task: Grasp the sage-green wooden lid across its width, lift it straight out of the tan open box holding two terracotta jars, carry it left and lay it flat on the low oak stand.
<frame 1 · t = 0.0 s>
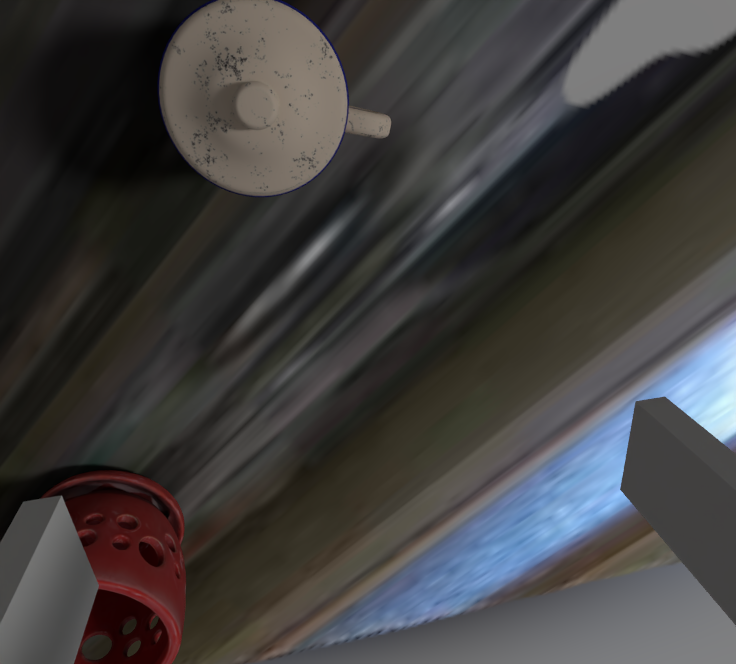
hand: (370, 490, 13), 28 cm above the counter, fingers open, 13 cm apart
teacup with lid: (281, 100, 35), on the counter
plant pot: (118, 516, 46), on the counter
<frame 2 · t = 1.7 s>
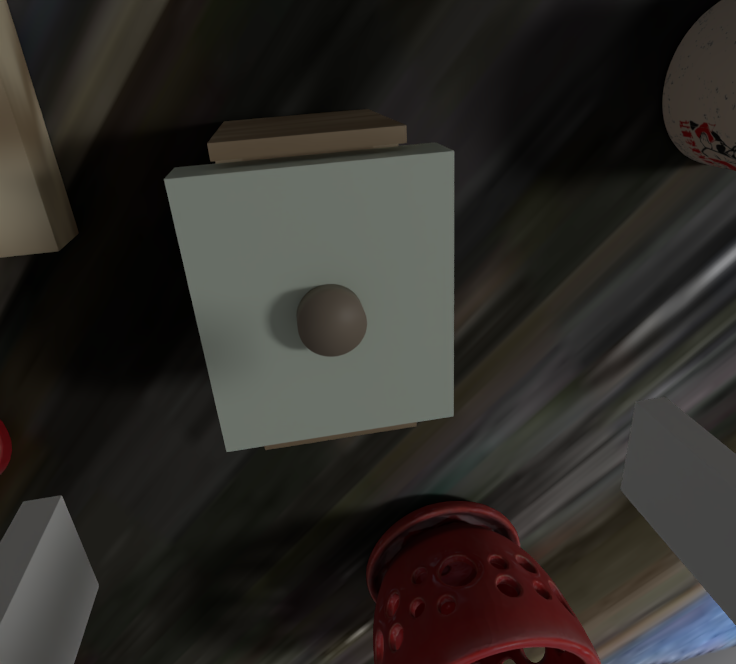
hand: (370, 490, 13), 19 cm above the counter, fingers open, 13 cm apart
plant pot: (439, 548, 42), on the counter
lid: (324, 292, 23), point 7 cm above the counter, touching tan open box
tan open box: (312, 245, 30), on the counter
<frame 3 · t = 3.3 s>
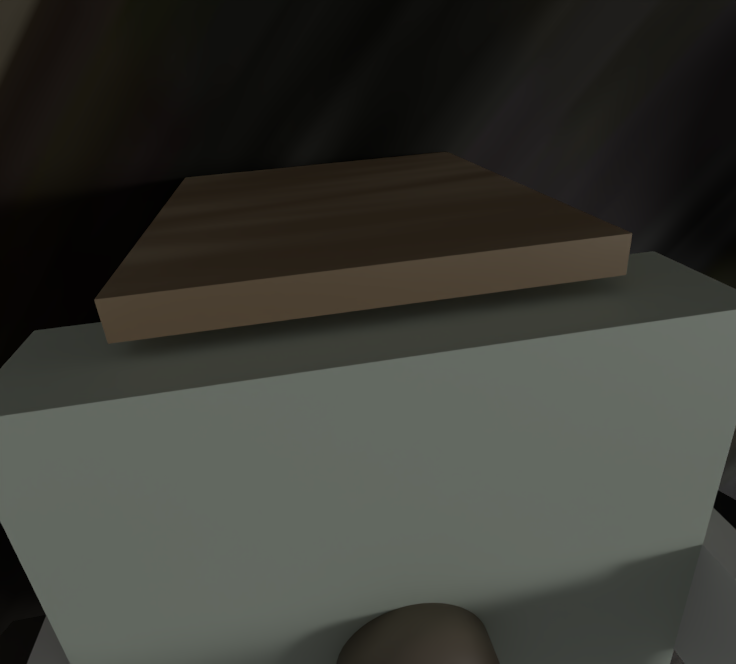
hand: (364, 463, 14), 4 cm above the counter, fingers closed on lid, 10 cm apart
lid: (385, 546, 11), point 7 cm above the counter, touching tan open box, gripper
tan open box: (342, 377, 17), on the counter
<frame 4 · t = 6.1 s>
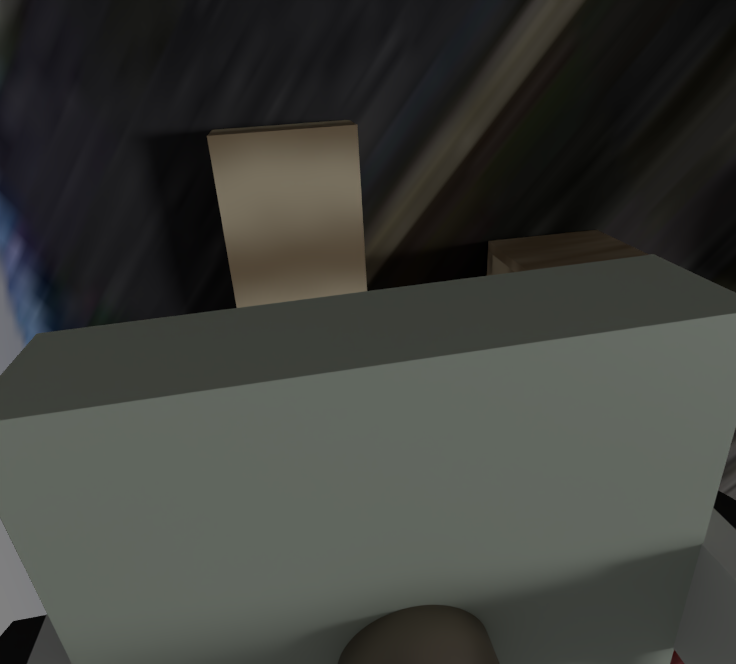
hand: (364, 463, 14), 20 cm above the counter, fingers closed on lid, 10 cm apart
lid: (385, 547, 11), point 22 cm above the counter, touching gripper
stand: (294, 237, 31), on the counter
tan open box: (534, 332, 36), on the counter
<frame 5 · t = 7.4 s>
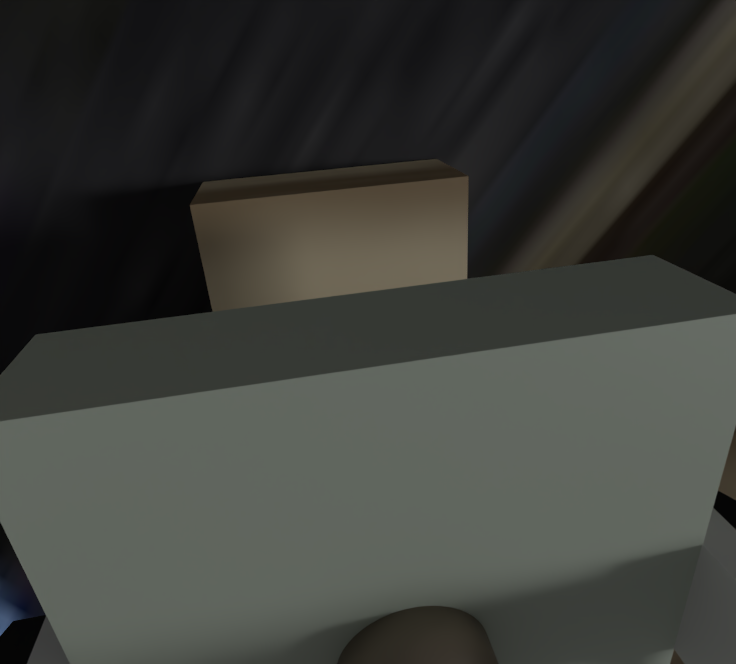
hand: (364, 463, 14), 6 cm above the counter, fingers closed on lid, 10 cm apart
lid: (385, 548, 11), point 9 cm above the counter, touching gripper
stand: (340, 347, 19), on the counter
tan open box: (691, 460, 24), on the counter
when the fingers open (2 cm above the counter, at t = 8.8 s): lid drops 1 cm, resting on stand.
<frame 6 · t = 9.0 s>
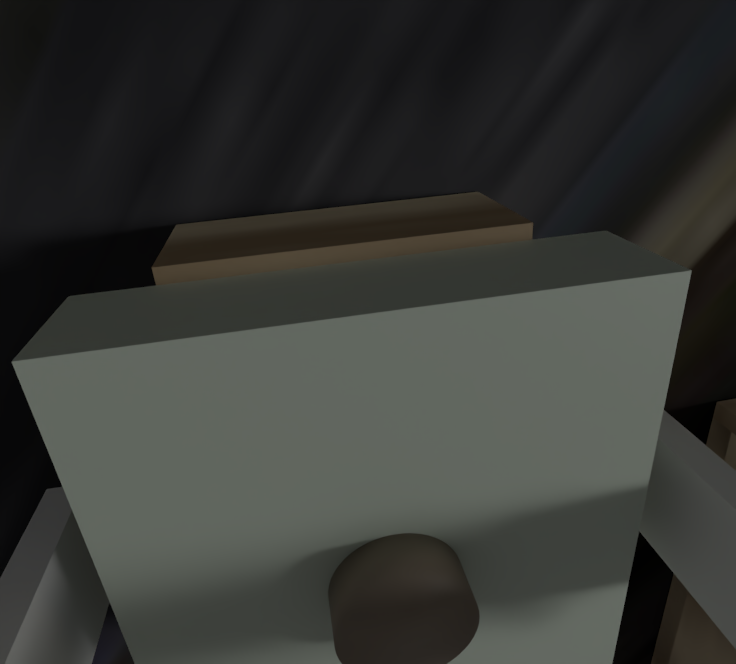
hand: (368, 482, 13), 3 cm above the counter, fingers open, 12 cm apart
lid: (373, 497, 13), point 3 cm above the counter, touching stand
stand: (353, 422, 15), on the counter
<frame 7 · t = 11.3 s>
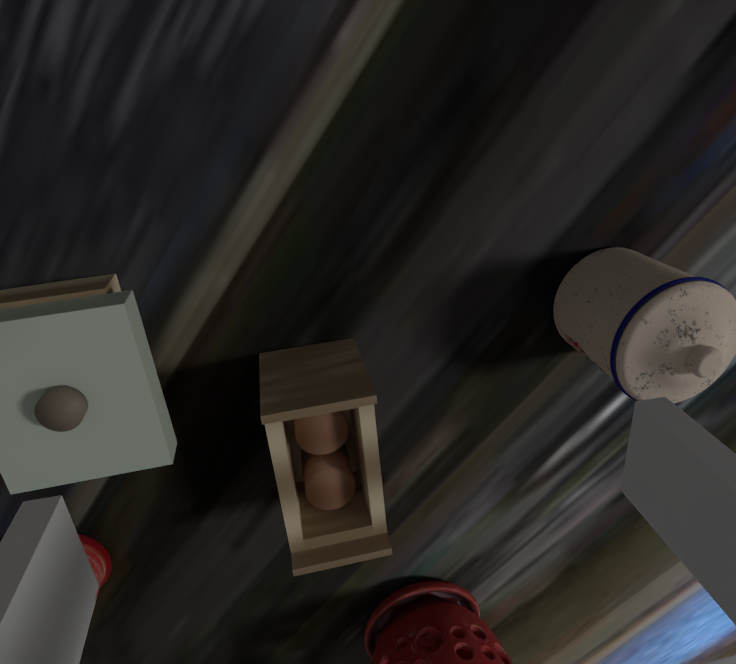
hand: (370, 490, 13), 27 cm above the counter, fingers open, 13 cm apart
teacup with lid: (615, 299, 44), on the counter
plant pot: (419, 614, 55), on the counter
lid: (76, 384, 35), point 3 cm above the counter, touching stand
stand: (88, 363, 38), on the counter
tan open box: (318, 420, 43), on the counter
liquor: (69, 551, 44), on the counter
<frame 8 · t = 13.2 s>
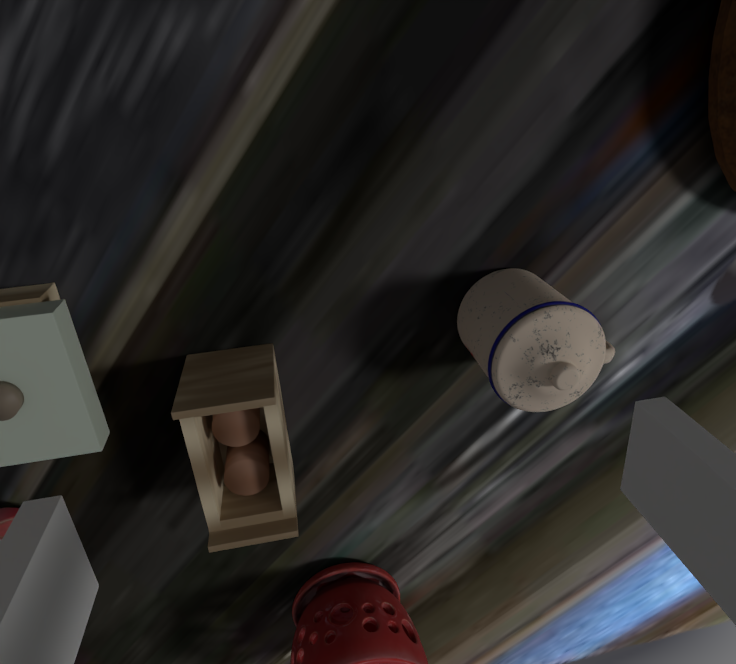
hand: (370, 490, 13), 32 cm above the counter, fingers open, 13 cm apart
teacup with lid: (516, 314, 49), on the counter
plant pot: (346, 592, 60), on the counter
lid: (17, 379, 40), point 3 cm above the counter, touching stand
stand: (32, 360, 43), on the counter
tan open box: (243, 415, 48), on the counter
liquor: (20, 525, 49), on the counter
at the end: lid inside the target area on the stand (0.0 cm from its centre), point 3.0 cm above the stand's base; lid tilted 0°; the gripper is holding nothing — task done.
